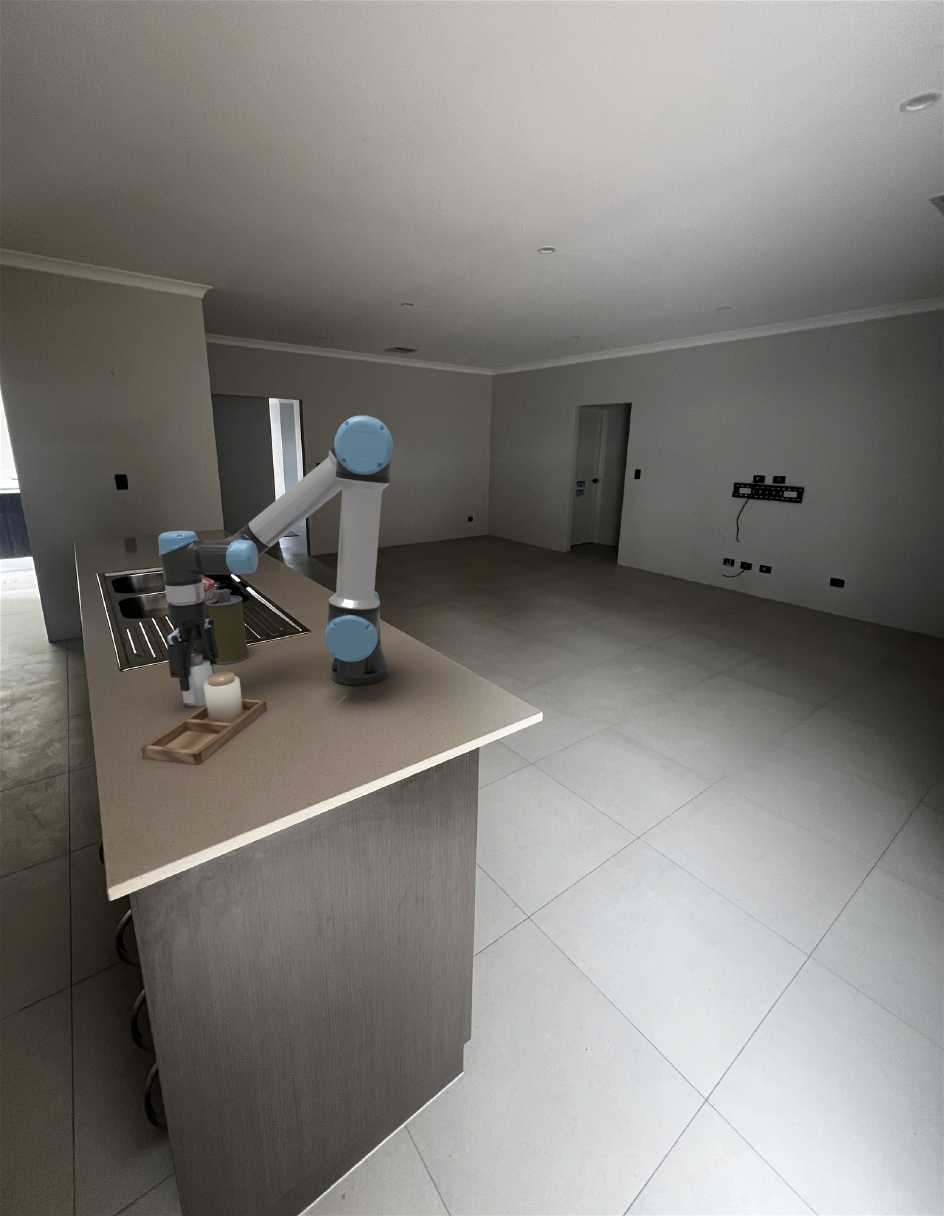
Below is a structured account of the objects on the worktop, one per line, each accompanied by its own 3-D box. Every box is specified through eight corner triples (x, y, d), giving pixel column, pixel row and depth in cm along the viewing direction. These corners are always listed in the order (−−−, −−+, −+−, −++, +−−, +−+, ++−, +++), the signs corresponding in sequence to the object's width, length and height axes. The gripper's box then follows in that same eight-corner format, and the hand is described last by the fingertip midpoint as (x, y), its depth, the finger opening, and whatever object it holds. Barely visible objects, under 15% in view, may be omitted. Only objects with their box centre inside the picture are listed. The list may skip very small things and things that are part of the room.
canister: (237, 649, 163) (229, 584, 158) (255, 657, 157) (248, 590, 151) (201, 659, 155) (191, 591, 149) (219, 667, 149) (209, 597, 143)
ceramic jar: (250, 713, 120) (245, 671, 117) (231, 728, 114) (225, 684, 111) (222, 711, 122) (216, 669, 119) (201, 725, 115) (195, 681, 112)
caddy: (267, 713, 122) (265, 701, 122) (199, 768, 101) (197, 754, 100) (219, 708, 125) (218, 696, 124) (143, 761, 103) (141, 747, 102)
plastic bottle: (220, 699, 129) (214, 652, 126) (204, 710, 124) (197, 661, 120) (198, 697, 130) (191, 650, 127) (180, 707, 125) (173, 659, 122)
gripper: (199, 590, 130) (211, 679, 136) (138, 611, 112) (156, 712, 118) (227, 591, 129) (238, 681, 135) (170, 613, 111) (186, 716, 117)
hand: (200, 696), depth 127 cm, fingers closed on plastic bottle, 6 cm apart
